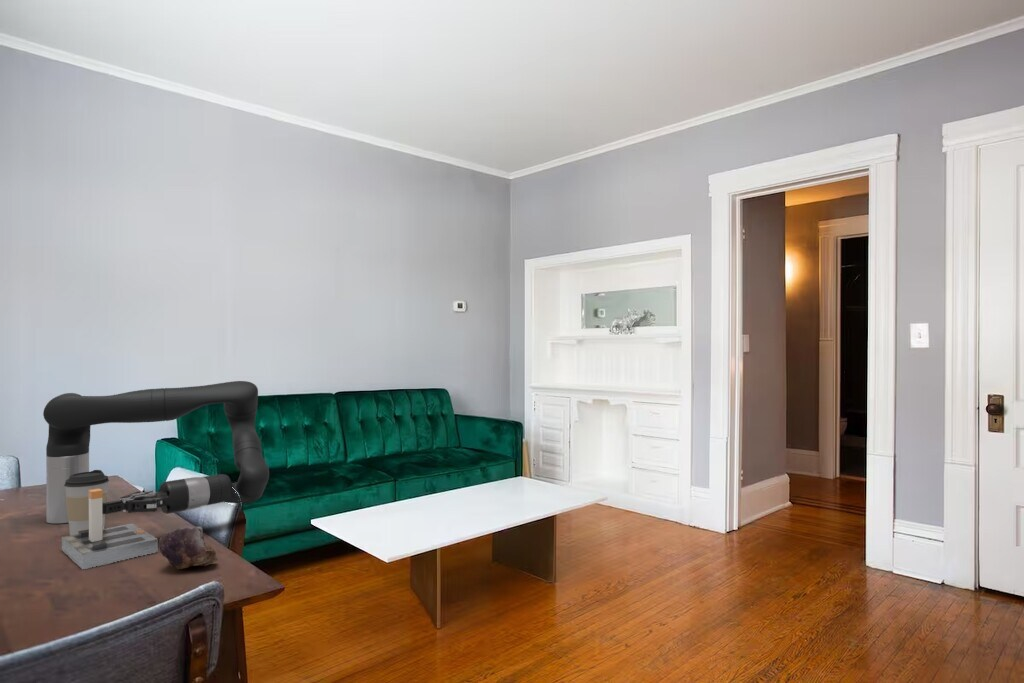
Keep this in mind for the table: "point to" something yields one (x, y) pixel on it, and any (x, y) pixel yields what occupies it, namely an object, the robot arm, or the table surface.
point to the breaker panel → (109, 546)
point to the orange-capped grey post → (95, 514)
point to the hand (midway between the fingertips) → (101, 508)
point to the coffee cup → (83, 498)
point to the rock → (186, 548)
